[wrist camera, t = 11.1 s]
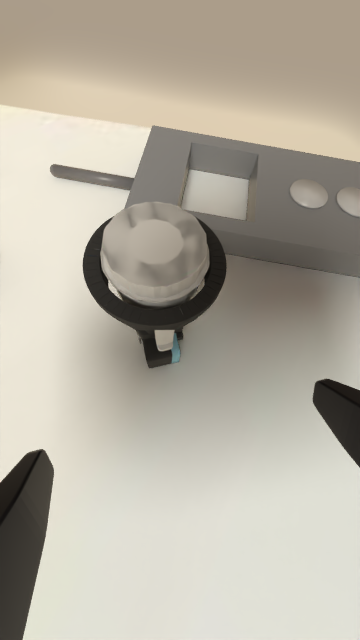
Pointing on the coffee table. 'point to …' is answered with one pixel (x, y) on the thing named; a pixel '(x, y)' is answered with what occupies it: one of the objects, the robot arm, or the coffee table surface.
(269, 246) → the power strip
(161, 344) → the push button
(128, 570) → the coffee table surface
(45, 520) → the robot arm
